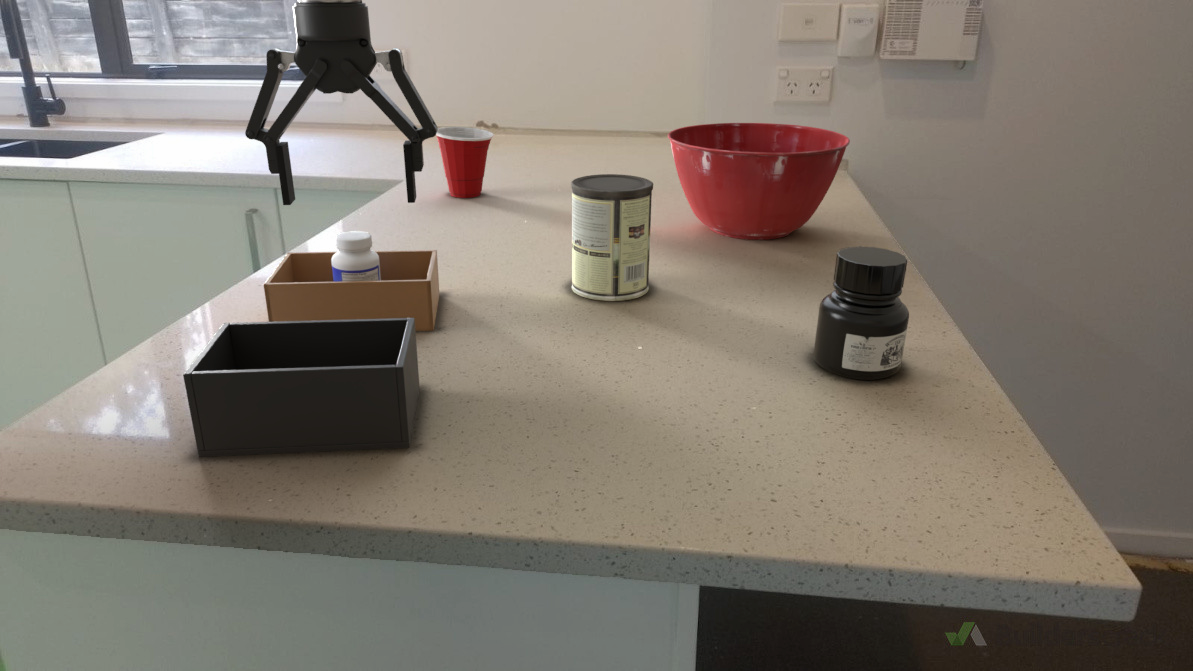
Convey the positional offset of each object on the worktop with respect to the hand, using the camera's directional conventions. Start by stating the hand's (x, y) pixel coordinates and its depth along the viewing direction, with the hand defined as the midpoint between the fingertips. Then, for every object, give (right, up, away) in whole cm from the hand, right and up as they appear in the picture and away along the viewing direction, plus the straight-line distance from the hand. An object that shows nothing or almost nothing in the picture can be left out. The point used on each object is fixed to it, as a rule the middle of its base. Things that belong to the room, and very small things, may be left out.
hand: (351, 201), depth 95 cm
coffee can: (+30, -9, +15) cm, 34 cm away
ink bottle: (+55, -18, -6) cm, 59 cm away
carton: (0, -13, +5) cm, 14 cm away
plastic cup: (+3, +11, +63) cm, 64 cm away
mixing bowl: (+53, +2, +44) cm, 69 cm away
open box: (+3, -23, -20) cm, 30 cm away
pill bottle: (0, -13, +5) cm, 14 cm away
